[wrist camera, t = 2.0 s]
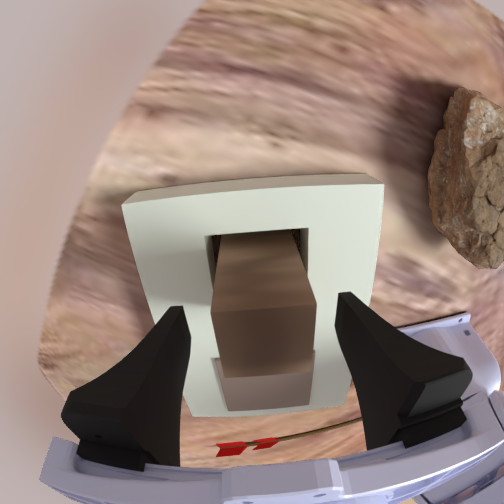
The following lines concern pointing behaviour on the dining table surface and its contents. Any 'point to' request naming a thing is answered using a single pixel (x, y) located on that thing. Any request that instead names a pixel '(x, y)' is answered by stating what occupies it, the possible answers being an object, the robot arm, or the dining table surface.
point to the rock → (470, 178)
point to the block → (262, 305)
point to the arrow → (269, 441)
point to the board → (204, 270)
